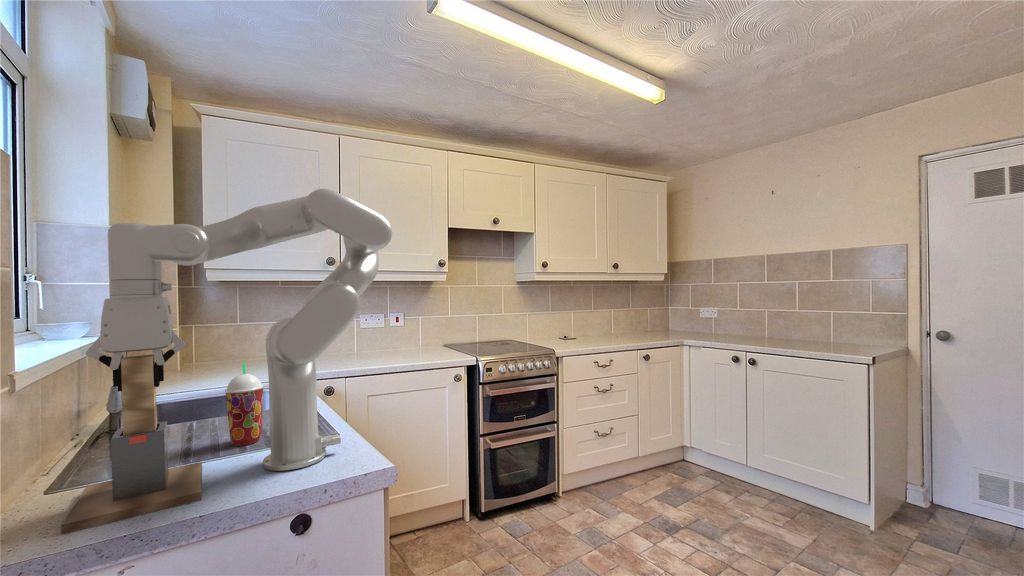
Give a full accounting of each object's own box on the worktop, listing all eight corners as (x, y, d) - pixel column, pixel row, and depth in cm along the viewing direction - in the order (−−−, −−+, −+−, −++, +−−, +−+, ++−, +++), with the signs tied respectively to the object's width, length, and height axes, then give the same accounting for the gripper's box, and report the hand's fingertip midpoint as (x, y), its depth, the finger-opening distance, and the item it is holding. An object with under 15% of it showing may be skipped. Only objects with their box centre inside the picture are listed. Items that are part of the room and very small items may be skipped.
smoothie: (257, 434, 117) (255, 359, 117) (270, 440, 111) (268, 361, 112) (221, 443, 110) (219, 364, 110) (233, 450, 105) (231, 367, 105)
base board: (202, 468, 94) (201, 461, 94) (201, 500, 79) (200, 491, 79) (87, 493, 84) (87, 485, 84) (61, 534, 69) (61, 524, 69)
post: (158, 446, 85) (155, 354, 85) (156, 453, 81) (153, 356, 81) (127, 452, 82) (124, 356, 82) (123, 459, 79) (120, 359, 79)
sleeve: (168, 476, 87) (167, 421, 87) (165, 490, 80) (163, 430, 80) (119, 487, 83) (117, 428, 83) (112, 502, 76) (110, 439, 76)
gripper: (192, 289, 90) (195, 378, 90) (79, 292, 80) (81, 391, 80) (191, 288, 84) (194, 384, 84) (68, 291, 74) (71, 399, 74)
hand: (139, 386), depth 82 cm, fingers closed on post, 4 cm apart
